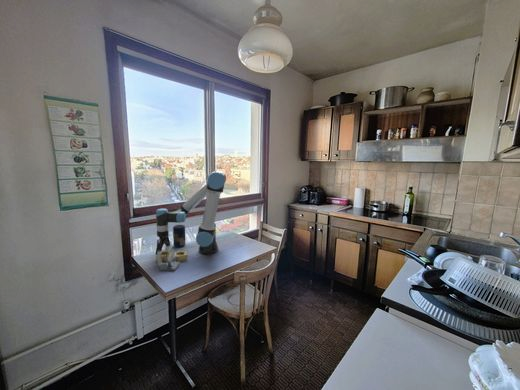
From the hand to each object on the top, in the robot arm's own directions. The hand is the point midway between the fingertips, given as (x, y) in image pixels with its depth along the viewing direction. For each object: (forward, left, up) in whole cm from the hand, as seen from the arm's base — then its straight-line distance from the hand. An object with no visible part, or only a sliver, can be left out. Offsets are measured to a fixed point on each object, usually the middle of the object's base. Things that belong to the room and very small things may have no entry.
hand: (163, 258), depth 161 cm
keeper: (-8, +13, 0) cm, 15 cm away
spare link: (-12, 0, 0) cm, 12 cm away
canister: (-3, -25, 0) cm, 25 cm away
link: (0, 0, 0) cm, 0 cm away
